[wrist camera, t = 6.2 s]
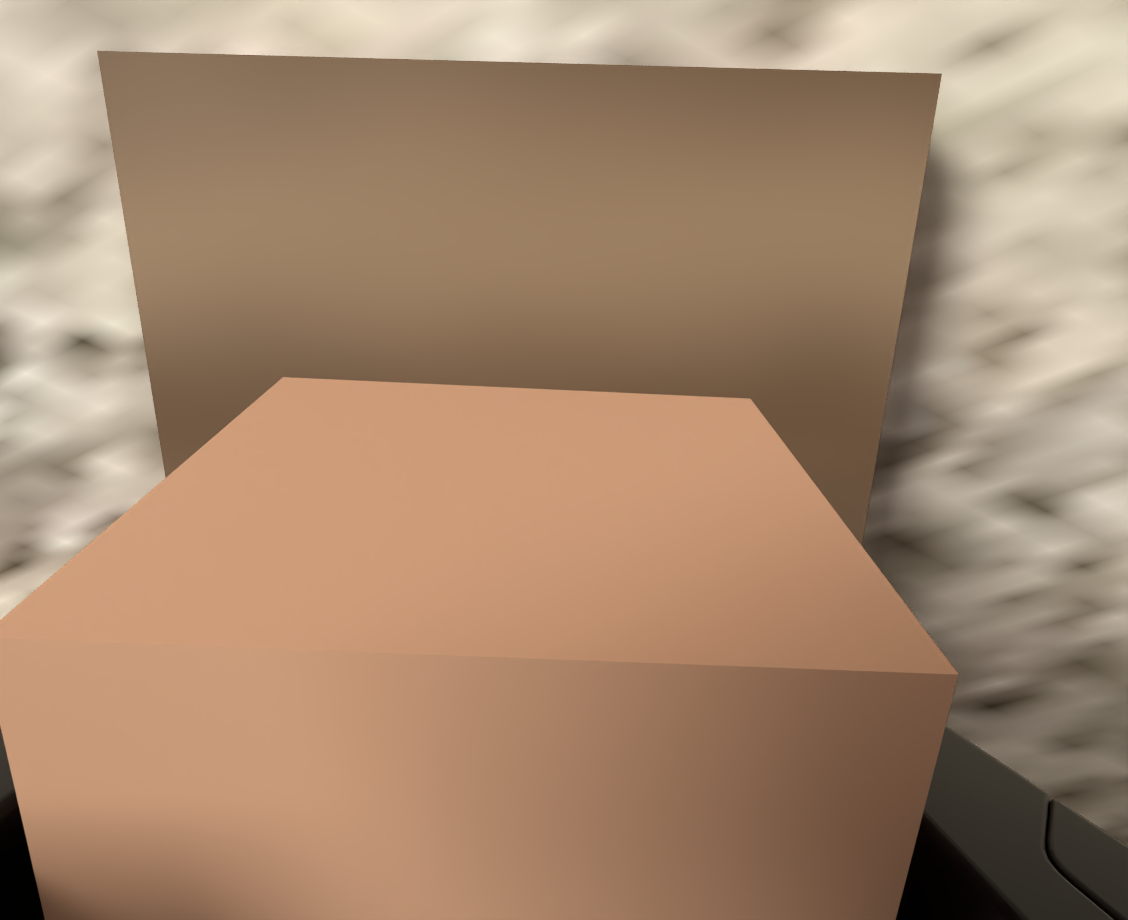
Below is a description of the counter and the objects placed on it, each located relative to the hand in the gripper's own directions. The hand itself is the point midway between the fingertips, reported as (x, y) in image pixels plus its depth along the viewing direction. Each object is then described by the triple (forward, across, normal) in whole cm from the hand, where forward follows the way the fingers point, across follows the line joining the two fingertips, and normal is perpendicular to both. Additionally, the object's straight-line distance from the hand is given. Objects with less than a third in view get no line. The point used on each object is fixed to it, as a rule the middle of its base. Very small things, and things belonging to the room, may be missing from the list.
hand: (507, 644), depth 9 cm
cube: (+1, 0, 0) cm, 1 cm away
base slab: (+8, 0, 0) cm, 9 cm away
